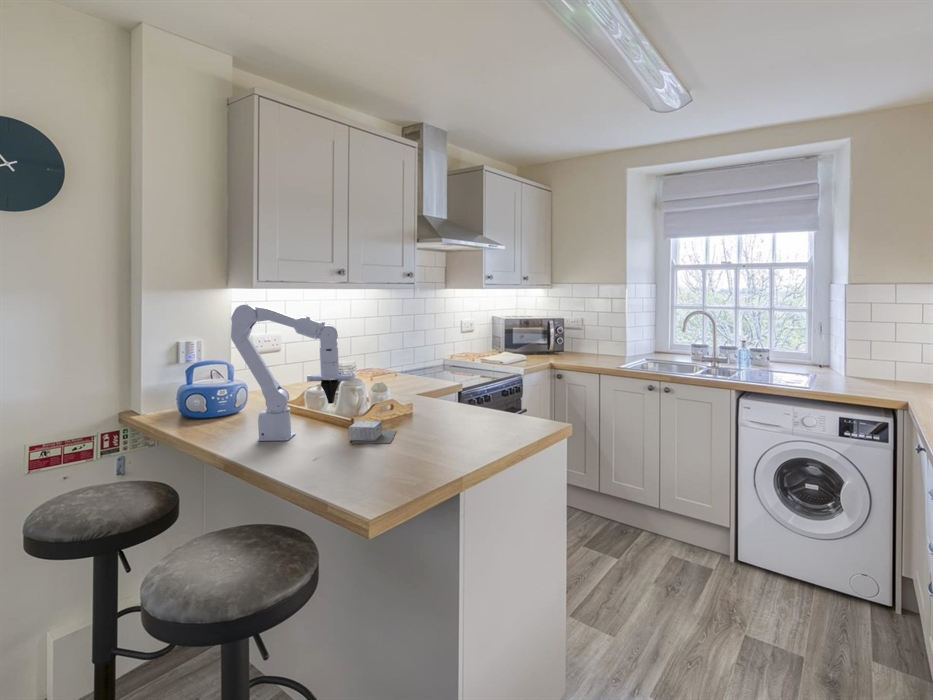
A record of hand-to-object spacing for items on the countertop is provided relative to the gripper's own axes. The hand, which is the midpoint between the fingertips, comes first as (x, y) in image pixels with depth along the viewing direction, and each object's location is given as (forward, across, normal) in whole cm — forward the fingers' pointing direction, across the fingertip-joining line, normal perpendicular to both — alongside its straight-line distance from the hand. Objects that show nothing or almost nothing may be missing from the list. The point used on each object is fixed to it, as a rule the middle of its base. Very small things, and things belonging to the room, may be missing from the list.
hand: (331, 402), depth 169 cm
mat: (+10, +15, -5) cm, 19 cm away
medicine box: (+8, +8, -5) cm, 12 cm away
